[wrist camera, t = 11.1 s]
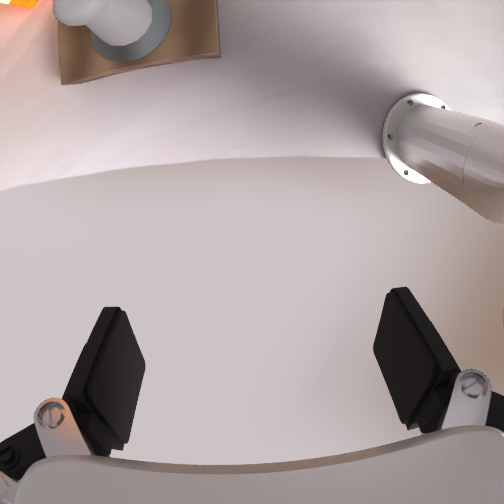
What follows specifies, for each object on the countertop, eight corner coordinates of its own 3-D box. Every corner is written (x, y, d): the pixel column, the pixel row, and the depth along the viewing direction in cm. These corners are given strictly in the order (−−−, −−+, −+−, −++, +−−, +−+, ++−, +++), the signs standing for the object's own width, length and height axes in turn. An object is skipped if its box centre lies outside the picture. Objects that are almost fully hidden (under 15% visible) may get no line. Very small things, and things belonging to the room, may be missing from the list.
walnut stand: (216, -16, 26) (212, -31, 22) (220, 57, 31) (217, 51, 26) (76, 15, 26) (56, 9, 21) (80, 83, 31) (59, 85, 26)
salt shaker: (169, 13, 24) (128, -25, 13) (135, 57, 26) (77, 45, 15) (127, -8, 22) (72, -47, 11) (96, 34, 24) (27, 18, 13)
